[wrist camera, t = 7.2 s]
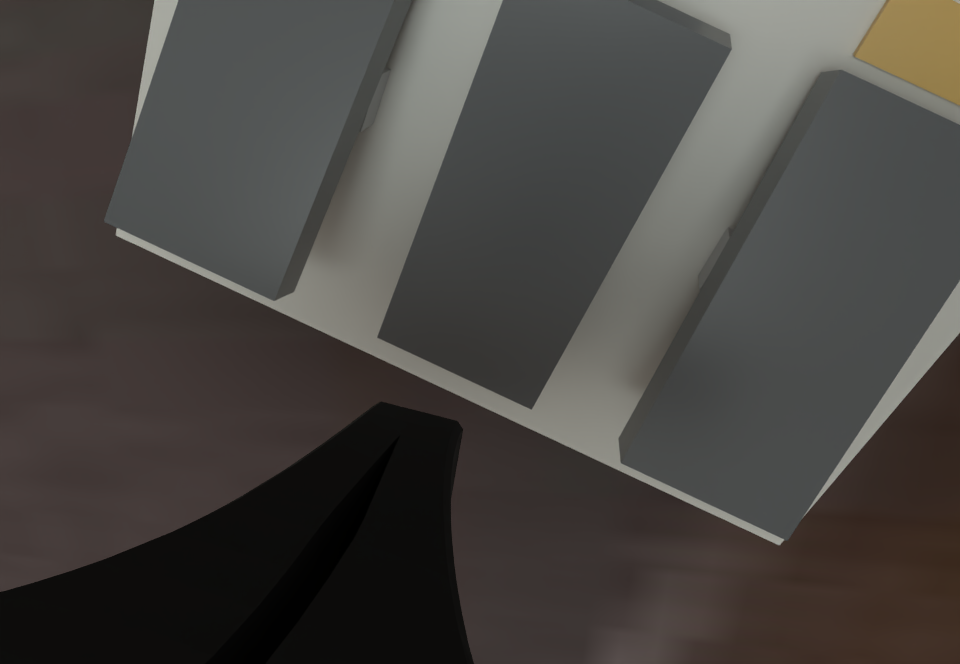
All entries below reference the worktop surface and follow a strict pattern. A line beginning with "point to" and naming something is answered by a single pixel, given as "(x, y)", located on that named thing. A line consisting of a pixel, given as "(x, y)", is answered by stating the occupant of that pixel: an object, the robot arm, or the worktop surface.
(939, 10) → the switch panel
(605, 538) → the worktop surface
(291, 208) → the rocker
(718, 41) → the rocker
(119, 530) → the worktop surface
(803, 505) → the rocker
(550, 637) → the worktop surface
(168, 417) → the worktop surface
